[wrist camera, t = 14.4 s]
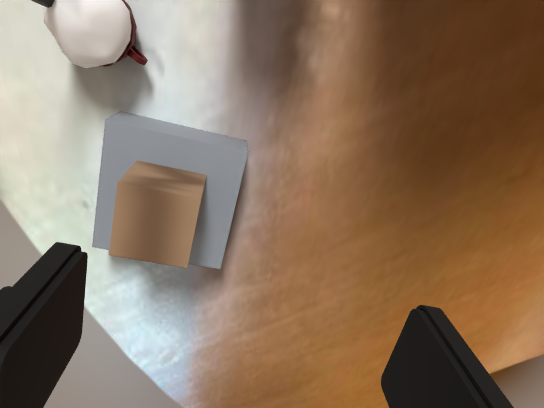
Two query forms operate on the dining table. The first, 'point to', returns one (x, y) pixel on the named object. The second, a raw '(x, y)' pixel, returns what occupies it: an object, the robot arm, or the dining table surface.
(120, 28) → the cocoa
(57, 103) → the dining table surface
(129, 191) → the walnut cube
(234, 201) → the grey block
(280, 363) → the dining table surface
